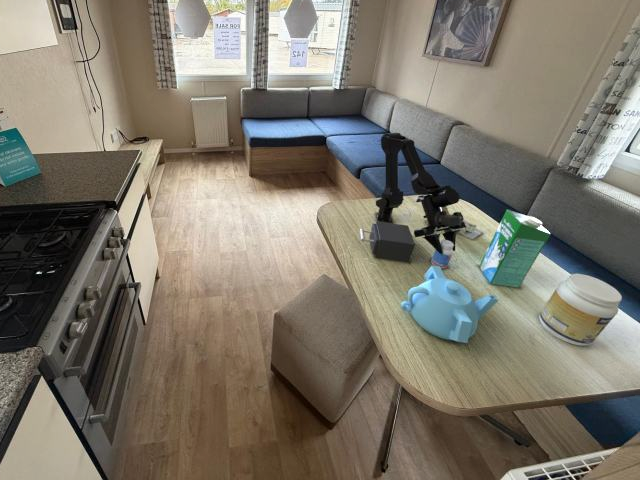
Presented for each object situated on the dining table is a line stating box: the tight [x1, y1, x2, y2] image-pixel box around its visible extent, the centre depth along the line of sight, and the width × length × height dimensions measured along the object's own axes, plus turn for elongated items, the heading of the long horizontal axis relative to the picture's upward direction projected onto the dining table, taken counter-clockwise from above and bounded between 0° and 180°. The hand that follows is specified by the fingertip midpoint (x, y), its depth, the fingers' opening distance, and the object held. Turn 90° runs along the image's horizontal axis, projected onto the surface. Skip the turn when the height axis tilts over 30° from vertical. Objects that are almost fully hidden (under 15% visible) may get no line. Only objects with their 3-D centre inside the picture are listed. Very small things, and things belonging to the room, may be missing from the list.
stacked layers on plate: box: [457, 214, 483, 240], centre depth 134 cm, size 10×9×6 cm
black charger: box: [374, 220, 416, 264], centre depth 119 cm, size 12×13×9 cm
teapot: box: [400, 265, 499, 344], centre depth 90 cm, size 19×19×14 cm
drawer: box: [359, 223, 379, 256], centre depth 120 cm, size 16×11×7 cm
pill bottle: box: [430, 239, 454, 269], centre depth 113 cm, size 6×5×10 cm
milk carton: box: [479, 209, 551, 288], centre depth 104 cm, size 9×9×25 cm
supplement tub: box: [538, 273, 623, 347], centre depth 87 cm, size 12×12×17 cm
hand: (447, 252), depth 111 cm, fingers closed on pill bottle, 5 cm apart
